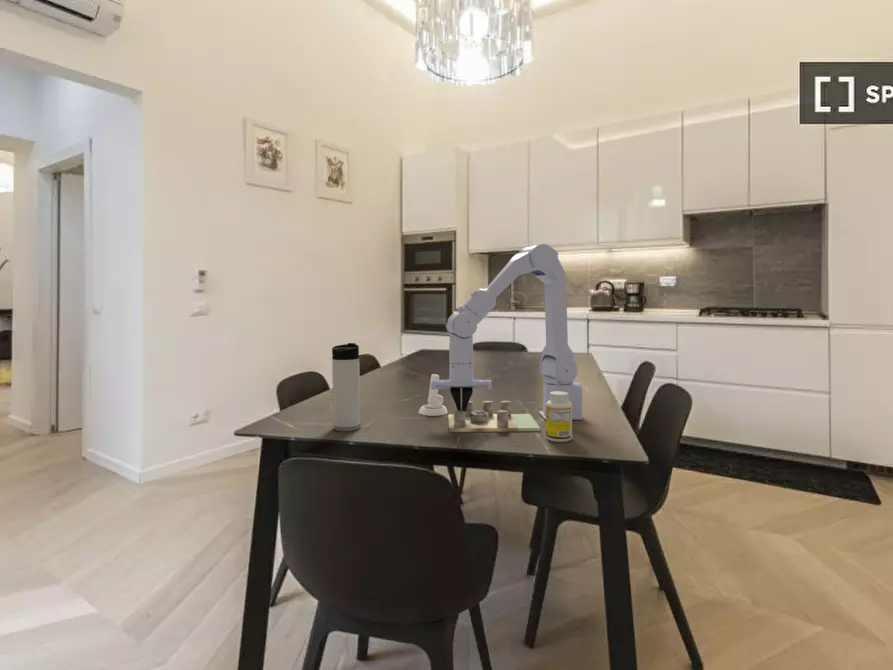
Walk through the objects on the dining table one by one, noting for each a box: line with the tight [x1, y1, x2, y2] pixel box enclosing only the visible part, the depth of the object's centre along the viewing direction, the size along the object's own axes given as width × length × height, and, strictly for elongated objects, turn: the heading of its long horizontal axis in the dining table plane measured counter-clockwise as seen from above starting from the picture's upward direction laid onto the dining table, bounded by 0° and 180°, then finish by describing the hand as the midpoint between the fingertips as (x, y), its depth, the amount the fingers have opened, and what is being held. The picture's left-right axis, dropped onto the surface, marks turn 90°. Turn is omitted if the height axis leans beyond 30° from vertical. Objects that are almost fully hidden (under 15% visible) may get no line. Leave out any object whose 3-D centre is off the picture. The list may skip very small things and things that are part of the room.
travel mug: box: [331, 342, 361, 433], centre depth 124 cm, size 6×7×20 cm
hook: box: [418, 373, 448, 417], centre depth 143 cm, size 8×12×7 cm
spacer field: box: [447, 400, 520, 433], centre depth 128 cm, size 16×14×4 cm
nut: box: [470, 410, 488, 423], centre depth 128 cm, size 5×4×2 cm
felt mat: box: [511, 413, 541, 432], centre depth 128 cm, size 5×14×1 cm, turn 0°
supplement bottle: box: [545, 391, 573, 443], centre depth 115 cm, size 6×6×10 cm
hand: (461, 418), depth 128 cm, fingers closed
